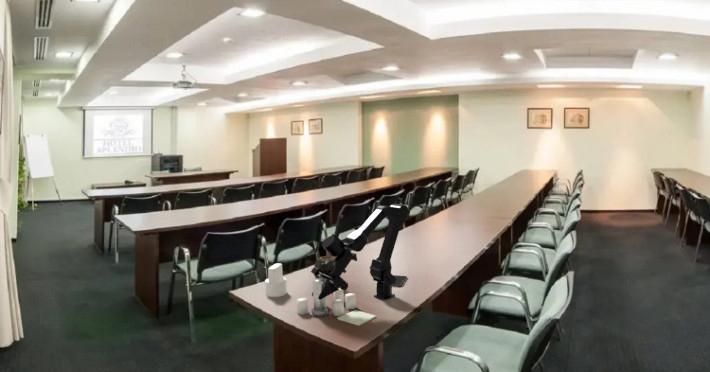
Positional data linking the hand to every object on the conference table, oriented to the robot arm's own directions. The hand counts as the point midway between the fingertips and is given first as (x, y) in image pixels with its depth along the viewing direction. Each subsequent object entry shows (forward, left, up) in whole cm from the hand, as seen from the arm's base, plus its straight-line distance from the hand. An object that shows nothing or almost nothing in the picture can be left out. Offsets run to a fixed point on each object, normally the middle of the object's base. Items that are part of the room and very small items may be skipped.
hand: (315, 297), depth 170 cm
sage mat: (-6, +14, -7) cm, 17 cm away
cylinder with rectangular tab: (-7, -32, -7) cm, 33 cm away
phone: (-51, 0, -7) cm, 52 cm away
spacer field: (-7, 0, -7) cm, 10 cm away
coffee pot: (-32, -25, -7) cm, 41 cm away
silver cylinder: (-1, 0, -7) cm, 7 cm away
